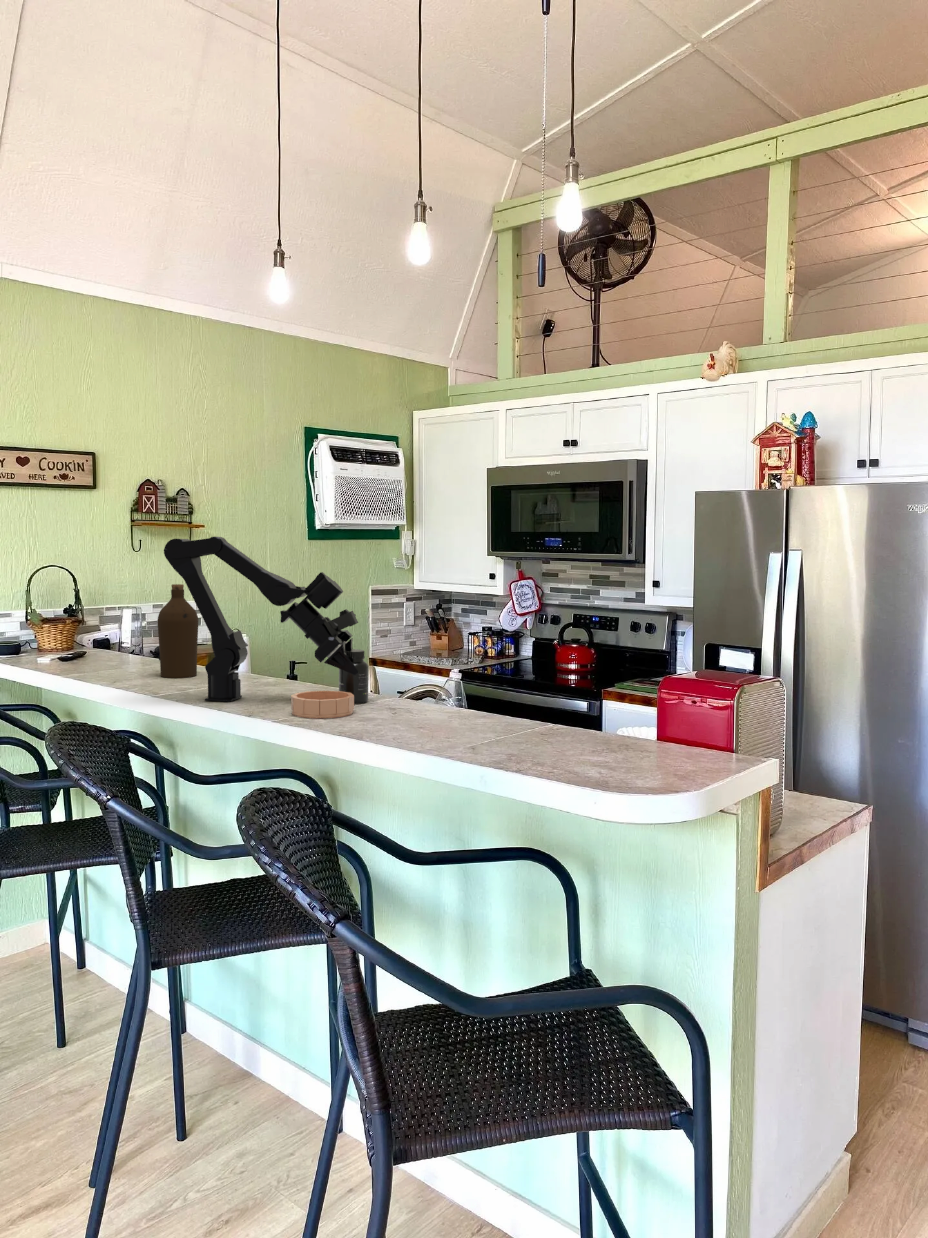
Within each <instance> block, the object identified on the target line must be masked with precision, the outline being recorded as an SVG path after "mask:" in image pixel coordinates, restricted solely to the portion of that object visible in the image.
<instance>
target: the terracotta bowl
mask: <svg viewBox="0 0 928 1238" xmlns="http://www.w3.org/2000/svg"><path fill="white" fill-rule="evenodd" d="M290 700H291V701H290V704H291V705H290V706H291V707H290V708H291V709H290V710H291V715H293V716H295V717H298V718H304V719H335V718H344V717H348V716H351V715H353V714H354V709H355V704H354V695H353V694H352V693H349V692H343V691H339V690H326V689H325V690H308V691H300V692H295V693H293V694H291V695H290Z"/></svg>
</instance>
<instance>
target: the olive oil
mask: <svg viewBox="0 0 928 1238" xmlns="http://www.w3.org/2000/svg"><path fill="white" fill-rule="evenodd" d="M184 588H185V586H184V584H183V583H181V584H179V583H174V584H171V589H170V593H171V594H170V596H171V597H170V598H169V600H168V602H167V603H166V604H165V605H164V606H163V607H162V608H161V609H160V611H159V613H158V616H157V633H158V634H157V635H158V648H159V649H158V650H159V655H158V662H159V665H160V666H159V668H160V669H159V670H160V677H162V678H164V679H166V678H167V679H184V678H194V677H196V676H197V673H198V670H197V669H198V643H199V642H198V640H199V639H198V636H199V617H198V614H197V611H196V609H195V608H194V607H193V606H192V605H191V604H190V603H189V602H188V601H187V600H186V598H185V589H184Z"/></svg>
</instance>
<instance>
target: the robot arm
mask: <svg viewBox="0 0 928 1238" xmlns="http://www.w3.org/2000/svg"><path fill="white" fill-rule="evenodd" d="M163 555H164V558H165V559H166V560H167V562H168V563H169V564H170V566H171V567H172V569H173V570H174V571H175V572H176V573H177V574H179V576H180V577H181V578H182V579H183V580H184V582H185V585H186V588H188V591H189V592H190V595H191V596H192V599H193V601H194V603H195V606H196V607H197V609H198V611H199V613H200V615H201V617H202V619H203V621H204V623H205V626H206V627H207V630H208V631H209V632H208V633H209V634H210V640H211V648H212V652H213V656H214V657H213V658H212V659H211V660H210V661H208V663H207V664H206V665H205V667H204V669H205V671H206V675H207V697H204V701H208V702H209V701H210V702H211V701H212V702H233V701H236V700H238V699H241V698H243V695H242V693H241V692H242V691H241V685H242V684H241V683H242V682H241V679H240V677H239V676H240V675H239V672H238V671H239V670H240V666H241V664H242V663H244V662H245V660H246V659H247V657H248V648H247V647H248V646H249V644H248V643H246V641H245V639H244V636H243V633H242V631H241V630H237V631H234V630H233V629H232V628H231V627H230V626H229V625H228V622H227V620H226V618H225V616H224V614H223V612H222V610H221V608H220V605H219V604H218V602H217V600H216V597H215V596H214V594H213V591H212V590H211V588H210V585H209V584H208V581H207V579H206V577H205V575H204V573H203V567H202V566H203V565H202V559H201V557H206V556H211V555H214V556H216V557H217V558H218V559H219V560H221V561H222V562H224V563H225V564H226V565H228V566H229V567H231V568H232V569H233V570H235V571H237V572H238V573H239V574H241V575H242V576H243V577H244V578H246V579H248V580H249V581H250V582H251V583H252V584H254V585H255V586H256V588H257V589H258V591H259V592H260V593H261V594H262V595H263V596H264V597H265V598H266V600H268V601H269V602H270V604H272V605H273V606H276V607H284V606H287V605H290V604H291V605H290V606H289V607H288V608H287V609H286V610H285V609H283V610H280V623H282V624H284V623H285V622H287V621H288V620H289V619H290V620H291V621H292V622H293V624H295V625H296V627H298V628H299V629H300V630H301V632H303V634H304V638H306V639H307V640H308V639H310V640H311V641H312V643H314V644H315V646H317V648H316V649H315V650H314V657H315V659H316V660H317V661H318V662H319V663H324V664H327V665H329V666H331V667H335V668H337V669H338V670H339V669H342V670H344V671H346V672H349V673H351V674H353V675H356V674H357V673H358V670H357V668H356V667H355V666H354V664H353V663H352V661H351V660H350V659H349V657H348V656H347V654H346V653H345V650H349V649H354V648H353V641H354V639H353V638H352V637H353V634H352V633H350V631H349V630H347V629H346V628H348V627H353V626H355V625H357V624H358V623H359V621H358V619H357V617H356V616H357V615H356V614H355V613H354V611H353V610H350V611H349V610H348V609H347V608H346V609H343V610H342V611H339V616H338V617H335V618H333V619H331V618H329V617H328V616H323V615H322V614H321V613H320V612H319V611H318V610H320V609H321V608H323V609H325V610H327V609H328V608H329V607H330V606H331V604H333V603H334V602H335V601H336V600H337V599H338V598H339V597H340V595H342V594H343V593H344V590H343V588H342V587H341V586H340V585H339V584H338V583H337V582H336V580H333V579H332V578H331V577H330V576H328V575H326V573H324V571H321V572H319V573H318V574H317V575H316V576H315V578H314V579H313V580H312V581H311V582H310V583H309V584H308V585H307V586H306V587H305V586H298V585H296V584H295V583H294V582H292V581H291V580H289V579H286V578H285V577H282V576H280V575H279V574H276V573H273V572H271V571H269V570H267V569H265V568H264V567H262V566H261V565H260V564H258V563H257V562H256V561H254V560H253V559H252V558H250V557H249V556H248V555H246V554H245V553H243V552H242V551H241V550H239V549H237V548H236V547H235V546H234V545H232V544H231V543H230V542H228V541H227V540H226V538H224V537H222V536H211V537H208V538H203V539H202V538H201V539H193V540H191V539H189V538H172V539H170V540H168V541H167V542H166V543H165V544H164V548H163ZM299 598H303V599H302V600H301V601H299V603H298V602H295V601H296V599H299ZM316 608H317V609H318V610H317V609H316ZM344 629H345V630H344ZM326 658H327V659H326ZM324 660H325V661H324Z"/></svg>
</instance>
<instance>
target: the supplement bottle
mask: <svg viewBox="0 0 928 1238" xmlns="http://www.w3.org/2000/svg"><path fill="white" fill-rule="evenodd" d="M345 653H346V654H347V656H348V657H349V659H350V660H351V661H352V663H353V664H354V666H355V667H356V668H357V670H358V673H357V674H356V675H353V674H351V673H349V672H346V671H344V670H342V669H339V668H338V691H343V692H349V693H352V694H353V695H354V705H360V704H365V703H367V702H368V701H369V679H370V678H369V670H370V668H369V667H370V666H369V664H368V663H367V662H366V661H364V659H365V657H366V656H365V650H363V649H356V648H355V649H354V648H353V649H349V650H345Z"/></svg>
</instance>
